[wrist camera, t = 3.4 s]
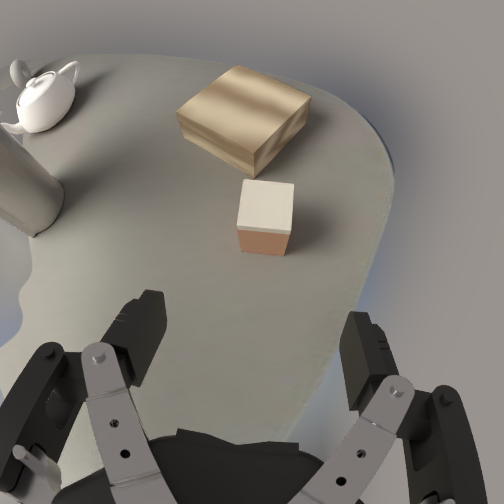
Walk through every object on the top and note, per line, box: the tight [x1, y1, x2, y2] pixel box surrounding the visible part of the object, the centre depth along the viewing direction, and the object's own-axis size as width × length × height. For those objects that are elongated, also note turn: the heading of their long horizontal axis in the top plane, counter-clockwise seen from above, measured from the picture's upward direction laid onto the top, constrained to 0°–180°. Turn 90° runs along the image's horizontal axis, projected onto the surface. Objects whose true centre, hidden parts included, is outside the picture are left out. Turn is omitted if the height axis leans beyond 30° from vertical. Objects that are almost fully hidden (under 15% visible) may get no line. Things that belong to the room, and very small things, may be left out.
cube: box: [237, 179, 294, 256], centre depth 31 cm, size 5×5×8 cm
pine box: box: [176, 65, 311, 179], centre depth 38 cm, size 13×13×6 cm
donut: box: [10, 59, 31, 89], centre depth 45 cm, size 10×4×10 cm, turn 28°
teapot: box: [1, 61, 81, 134], centre depth 39 cm, size 22×14×11 cm, turn 140°
